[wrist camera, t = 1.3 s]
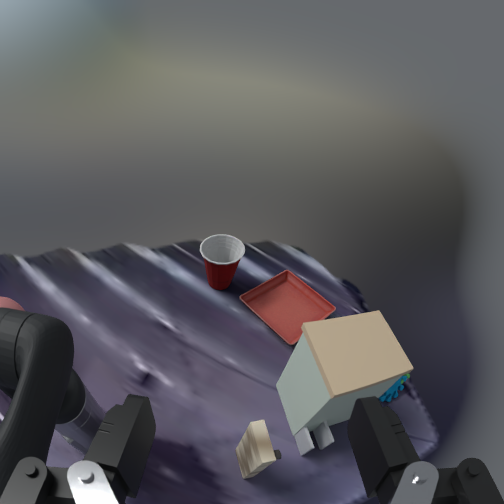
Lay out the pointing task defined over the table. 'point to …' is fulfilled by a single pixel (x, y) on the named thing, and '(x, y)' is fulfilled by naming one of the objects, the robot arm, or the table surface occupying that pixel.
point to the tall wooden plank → (255, 450)
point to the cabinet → (337, 373)
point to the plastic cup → (221, 259)
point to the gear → (394, 389)
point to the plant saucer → (287, 305)
